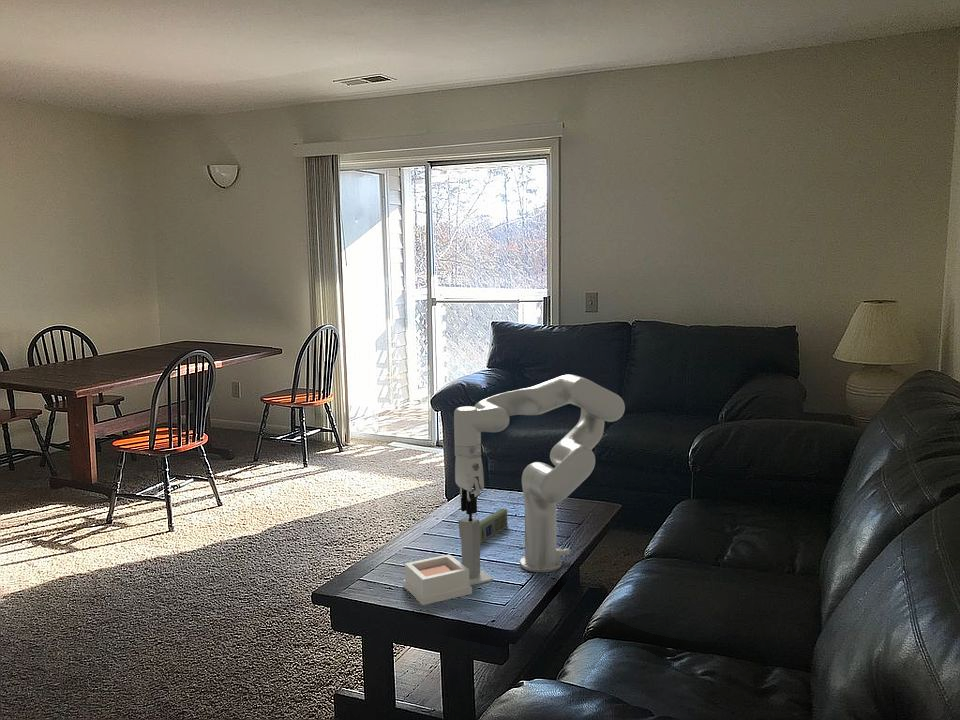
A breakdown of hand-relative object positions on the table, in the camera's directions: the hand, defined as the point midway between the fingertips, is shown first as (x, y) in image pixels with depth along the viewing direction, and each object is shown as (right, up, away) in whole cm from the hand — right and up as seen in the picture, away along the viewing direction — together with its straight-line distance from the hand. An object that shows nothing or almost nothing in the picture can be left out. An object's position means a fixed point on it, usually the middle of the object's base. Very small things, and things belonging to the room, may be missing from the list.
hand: (469, 511), depth 232 cm
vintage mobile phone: (0, -20, +3) cm, 20 cm away
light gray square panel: (0, -20, +3) cm, 20 cm away
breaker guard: (-9, -21, -5) cm, 24 cm away
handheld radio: (+6, -16, +35) cm, 39 cm away
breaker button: (-9, -19, -6) cm, 22 cm away
